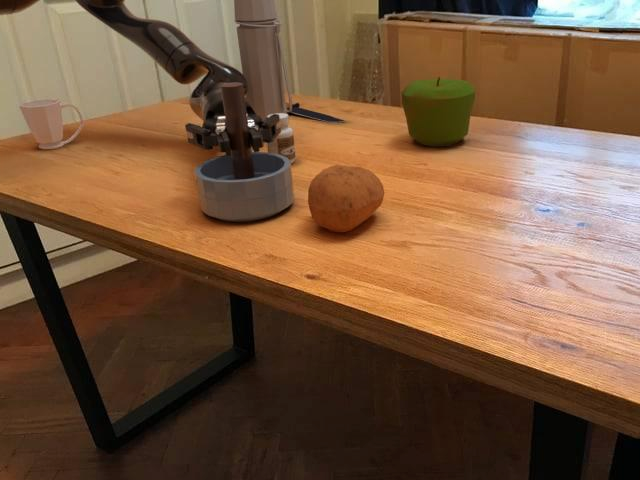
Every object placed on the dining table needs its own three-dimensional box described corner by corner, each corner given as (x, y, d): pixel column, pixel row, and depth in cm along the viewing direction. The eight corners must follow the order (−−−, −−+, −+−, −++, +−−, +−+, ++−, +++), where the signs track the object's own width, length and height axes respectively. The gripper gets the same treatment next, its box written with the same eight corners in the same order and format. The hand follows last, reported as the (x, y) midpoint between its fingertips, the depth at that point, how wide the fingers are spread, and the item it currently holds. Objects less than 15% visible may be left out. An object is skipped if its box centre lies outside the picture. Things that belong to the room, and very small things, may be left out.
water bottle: (241, 140, 123) (221, -7, 111) (265, 129, 129) (248, -11, 117) (283, 144, 119) (266, -7, 107) (306, 133, 125) (292, -11, 113)
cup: (27, 145, 124) (14, 102, 121) (82, 135, 130) (71, 93, 126) (35, 153, 119) (22, 109, 116) (92, 143, 124) (81, 99, 121)
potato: (291, 228, 86) (285, 173, 82) (348, 201, 93) (344, 150, 90) (345, 245, 80) (341, 186, 77) (400, 215, 88) (399, 161, 84)
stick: (239, 206, 91) (222, 87, 83) (236, 199, 93) (219, 83, 85) (260, 203, 92) (244, 85, 84) (256, 196, 94) (240, 81, 86)
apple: (475, 132, 122) (477, 69, 116) (471, 152, 111) (473, 83, 106) (408, 131, 124) (407, 69, 118) (398, 150, 113) (396, 83, 108)
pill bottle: (285, 167, 108) (280, 120, 104) (264, 164, 109) (258, 117, 106) (301, 159, 111) (296, 113, 107) (280, 156, 113) (275, 111, 109)
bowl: (208, 231, 85) (200, 187, 83) (197, 199, 96) (189, 159, 93) (304, 215, 89) (300, 172, 86) (283, 186, 100) (278, 147, 97)
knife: (336, 133, 130) (353, 124, 133) (334, 121, 129) (351, 111, 132) (249, 110, 144) (265, 101, 147) (246, 98, 142) (263, 90, 145)
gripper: (176, 95, 97) (181, 123, 82) (271, 86, 100) (292, 111, 86) (185, 145, 100) (191, 181, 86) (277, 134, 104) (298, 167, 89)
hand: (242, 145), depth 86 cm, fingers open, 3 cm apart
